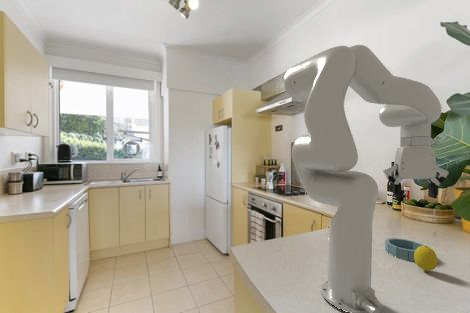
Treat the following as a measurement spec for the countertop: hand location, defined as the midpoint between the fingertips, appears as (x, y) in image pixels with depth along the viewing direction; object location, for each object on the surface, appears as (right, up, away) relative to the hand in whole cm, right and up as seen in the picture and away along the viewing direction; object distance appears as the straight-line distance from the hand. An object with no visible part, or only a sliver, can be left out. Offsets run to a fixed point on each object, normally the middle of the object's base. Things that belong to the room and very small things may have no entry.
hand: (414, 197), depth 71 cm
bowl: (+5, -23, +10) cm, 25 cm away
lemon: (+2, -23, -2) cm, 23 cm away
